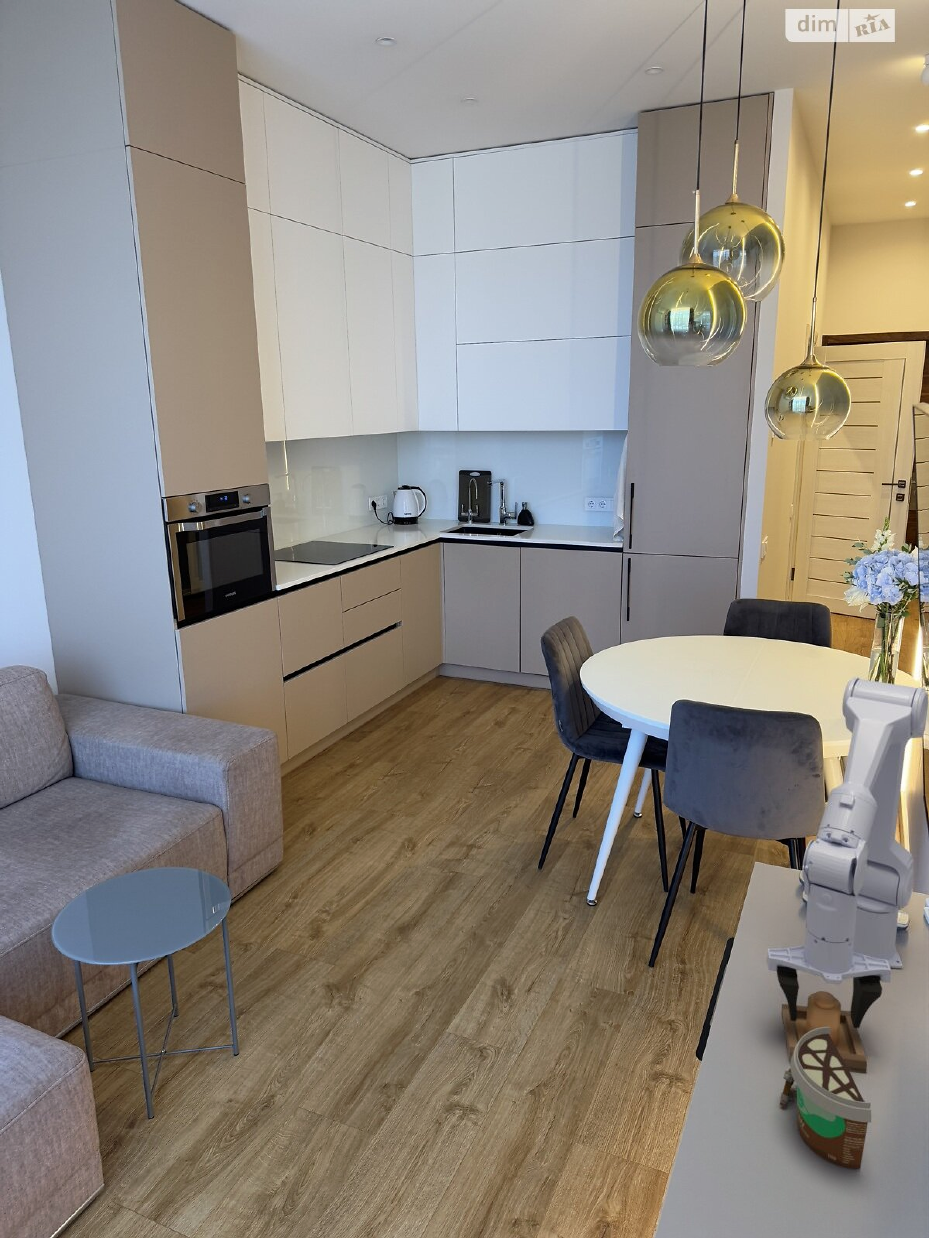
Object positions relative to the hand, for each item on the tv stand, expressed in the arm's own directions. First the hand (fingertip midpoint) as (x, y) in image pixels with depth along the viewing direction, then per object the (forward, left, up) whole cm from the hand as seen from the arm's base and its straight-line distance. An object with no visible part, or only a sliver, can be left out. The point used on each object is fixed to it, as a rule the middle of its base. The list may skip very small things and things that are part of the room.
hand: (823, 1018), depth 111 cm
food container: (+15, -3, -4) cm, 16 cm away
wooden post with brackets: (+9, -4, -4) cm, 10 cm away
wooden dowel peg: (0, 0, -3) cm, 3 cm away
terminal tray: (0, 0, -4) cm, 4 cm away
